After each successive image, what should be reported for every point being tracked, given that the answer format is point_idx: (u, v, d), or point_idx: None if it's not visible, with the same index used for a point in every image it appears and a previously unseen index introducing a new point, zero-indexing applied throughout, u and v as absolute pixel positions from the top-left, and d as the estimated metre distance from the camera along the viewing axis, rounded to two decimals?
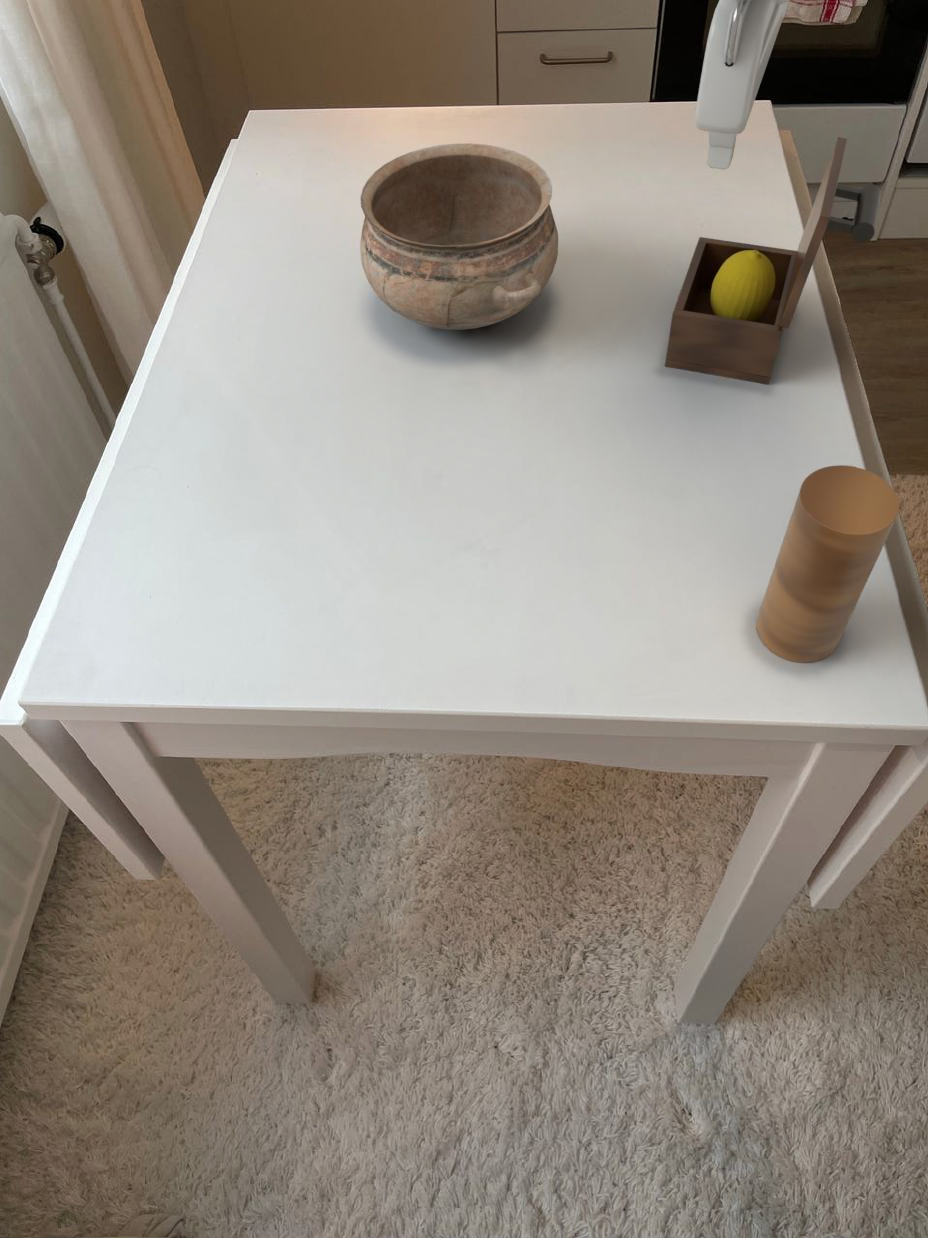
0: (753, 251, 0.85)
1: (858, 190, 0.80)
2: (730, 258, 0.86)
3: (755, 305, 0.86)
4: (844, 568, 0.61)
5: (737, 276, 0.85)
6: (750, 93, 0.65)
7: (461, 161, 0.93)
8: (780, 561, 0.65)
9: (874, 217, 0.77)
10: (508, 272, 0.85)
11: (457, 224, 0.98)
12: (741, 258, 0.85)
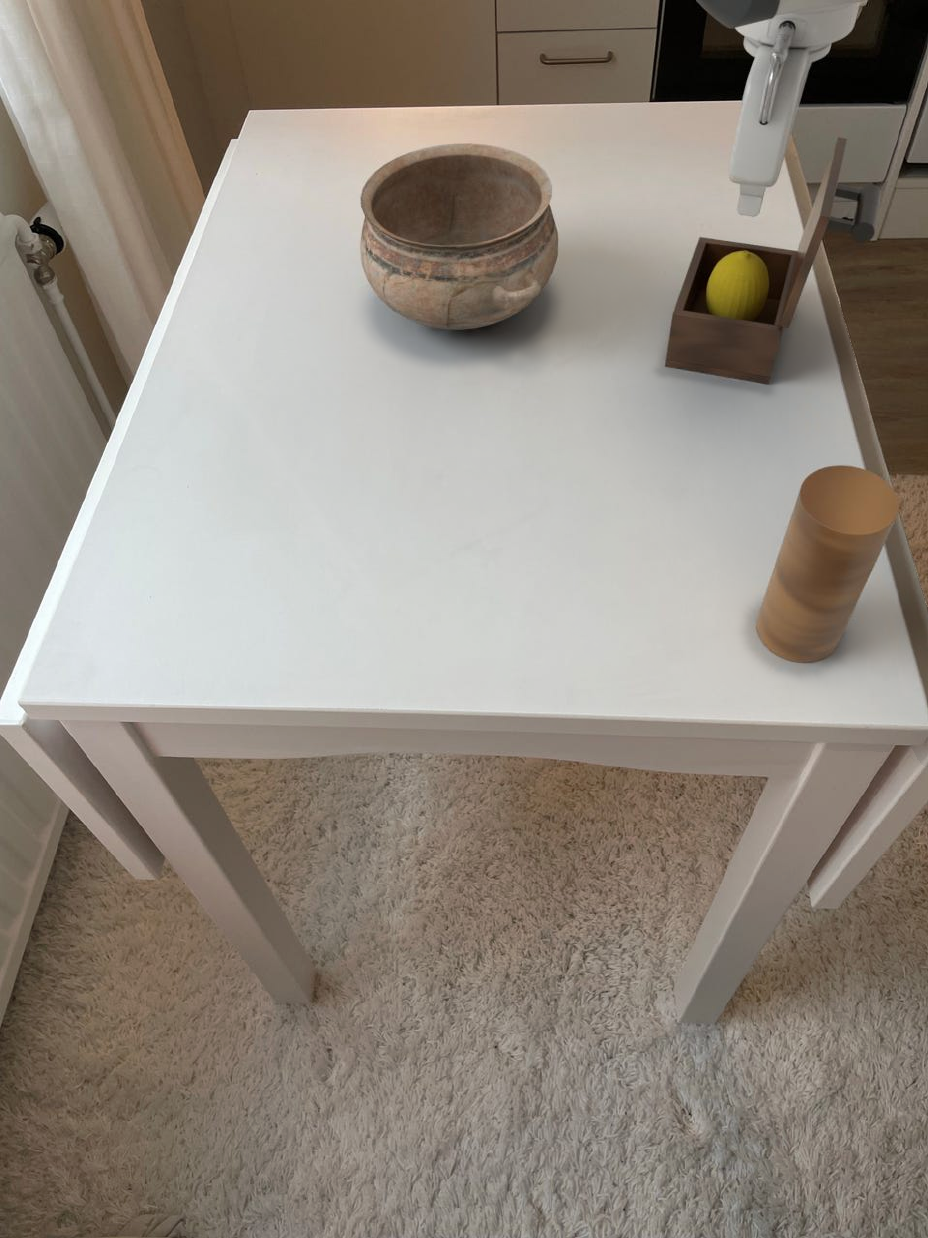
0: (742, 252, 0.85)
1: (858, 190, 0.80)
2: (721, 261, 0.86)
3: (749, 305, 0.86)
4: (844, 568, 0.61)
5: (728, 277, 0.85)
6: (783, 150, 0.68)
7: (461, 161, 0.93)
8: (780, 561, 0.65)
9: (874, 217, 0.77)
10: (508, 272, 0.85)
11: (457, 224, 0.98)
12: (731, 259, 0.85)
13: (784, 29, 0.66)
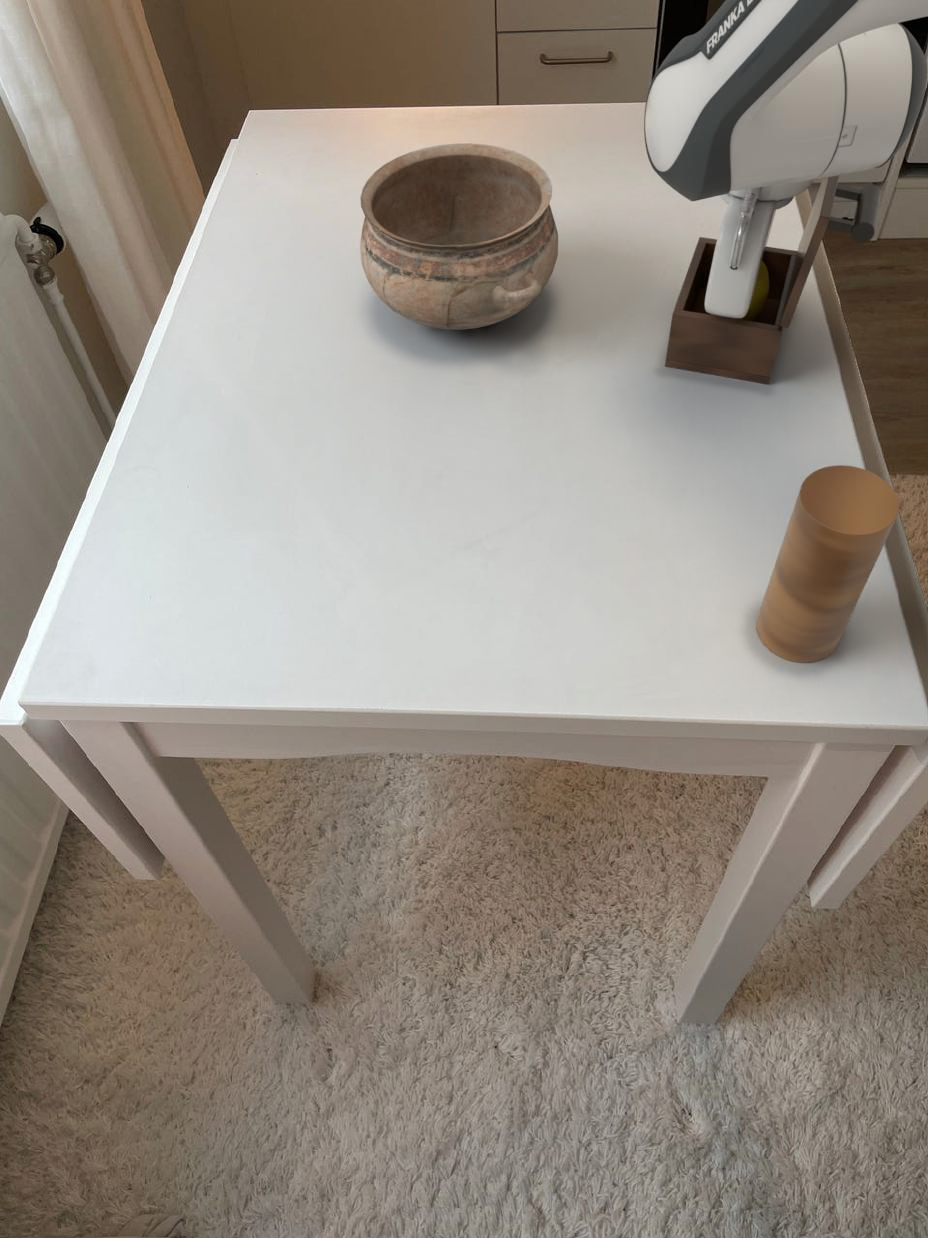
0: None
1: (858, 190, 0.80)
2: None
3: None
4: (844, 568, 0.61)
5: None
6: (751, 289, 0.77)
7: (461, 161, 0.93)
8: (780, 561, 0.65)
9: (874, 217, 0.77)
10: (508, 272, 0.85)
11: (457, 224, 0.98)
12: None
13: (751, 188, 0.75)
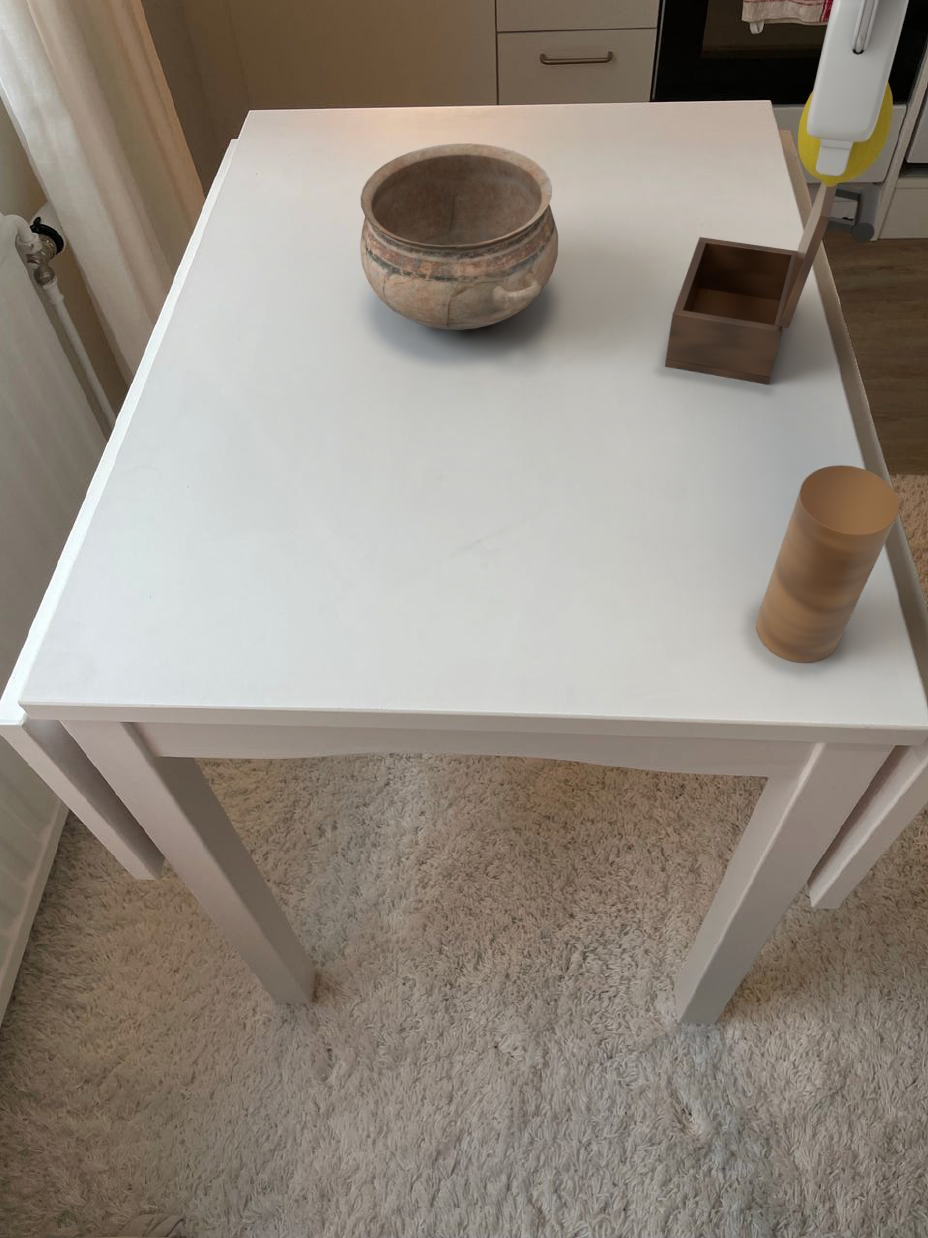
0: None
1: (858, 190, 0.80)
2: None
3: (864, 143, 0.59)
4: (844, 568, 0.61)
5: None
6: (884, 89, 0.50)
7: (461, 161, 0.93)
8: (780, 561, 0.65)
9: (874, 217, 0.77)
10: (508, 272, 0.85)
11: (457, 224, 0.98)
12: None
13: None
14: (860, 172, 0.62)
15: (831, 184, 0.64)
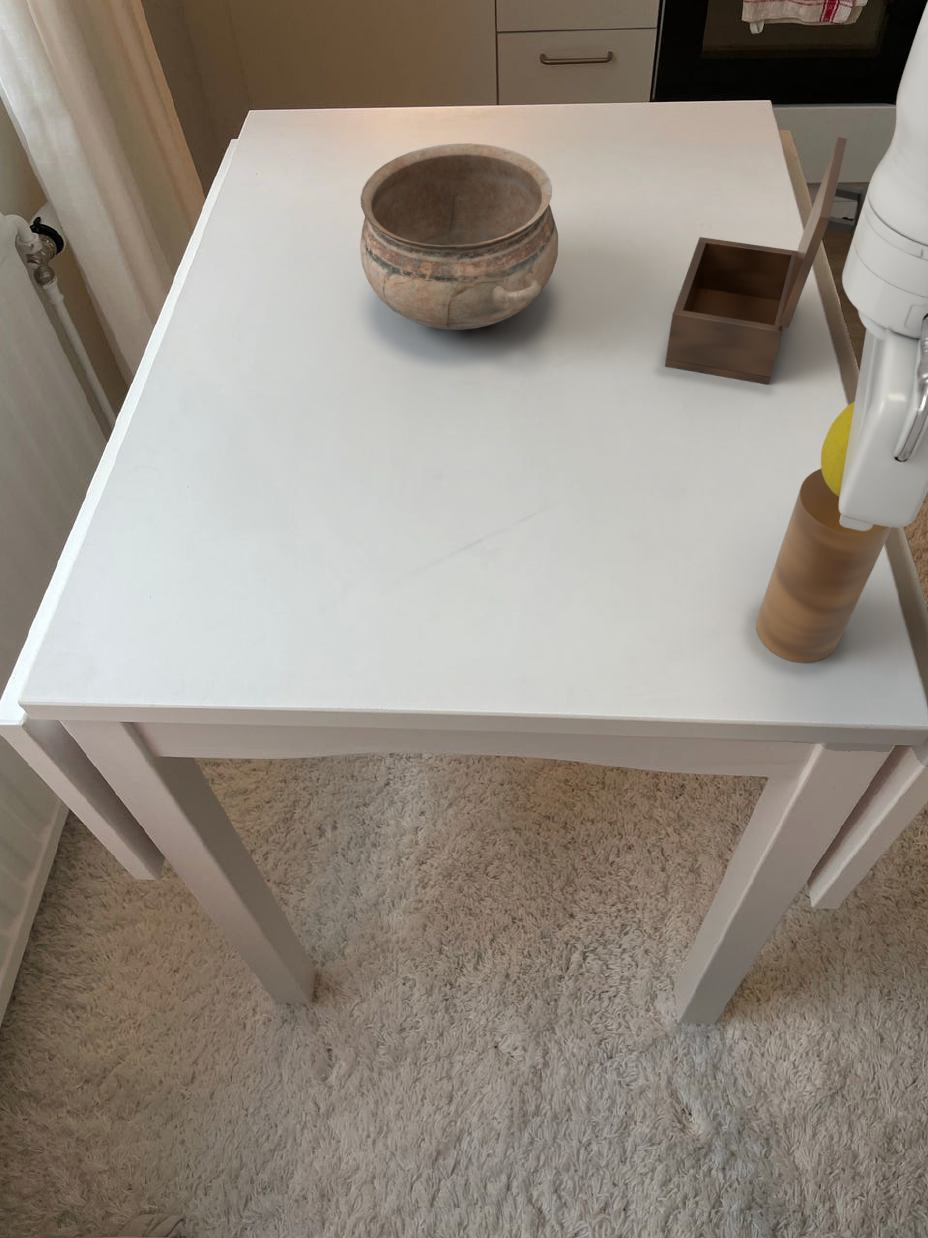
0: None
1: (858, 190, 0.80)
2: (851, 409, 0.55)
3: None
4: (844, 568, 0.61)
5: None
6: (927, 491, 0.46)
7: (461, 161, 0.93)
8: (780, 561, 0.65)
9: None
10: (508, 272, 0.85)
11: (457, 224, 0.98)
12: None
13: None
14: None
15: None
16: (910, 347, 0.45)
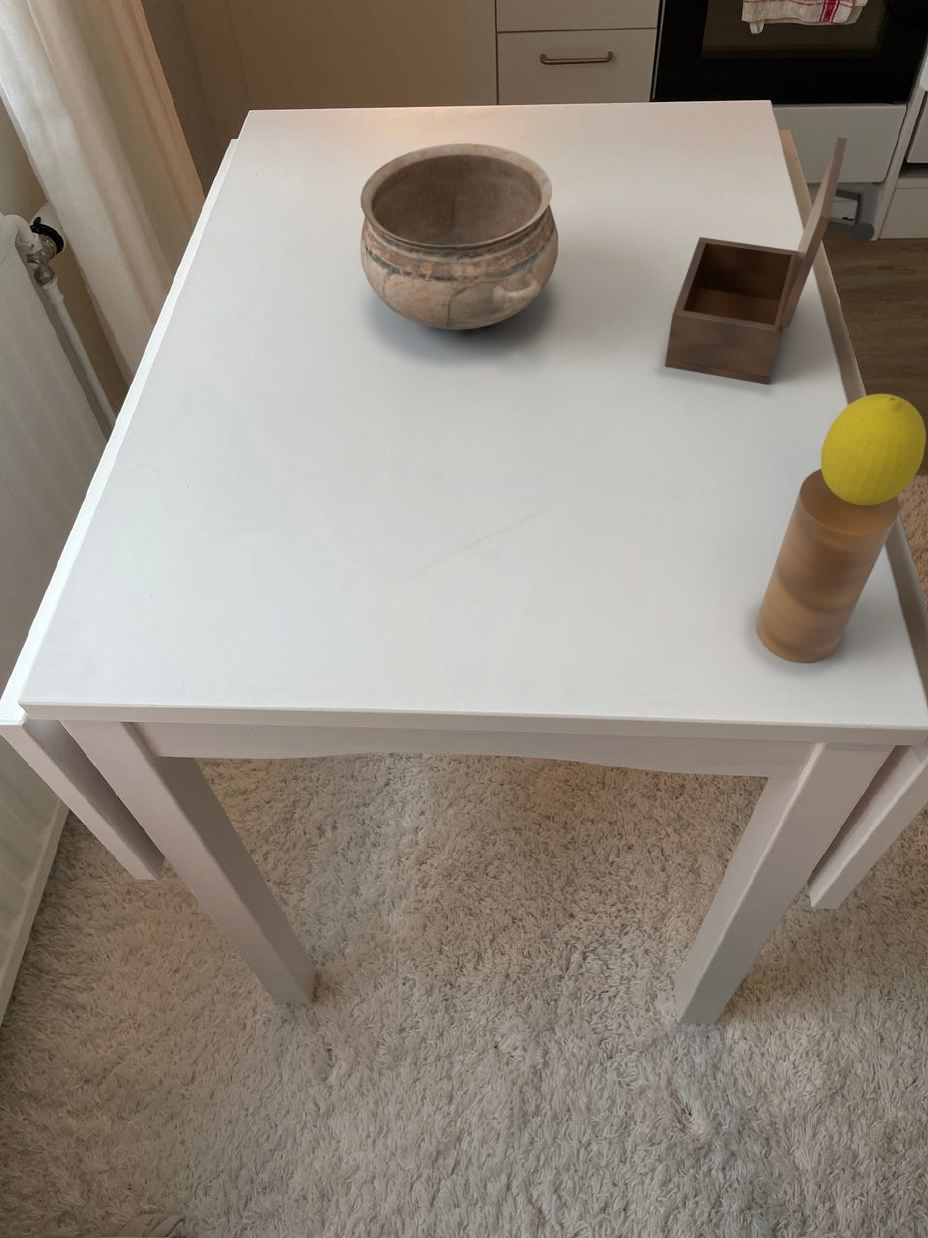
0: (888, 399, 0.53)
1: (858, 190, 0.80)
2: (851, 409, 0.55)
3: (895, 480, 0.55)
4: (844, 568, 0.61)
5: (864, 439, 0.54)
6: None
7: (461, 161, 0.93)
8: (780, 561, 0.65)
9: (874, 217, 0.77)
10: (508, 272, 0.85)
11: (457, 224, 0.98)
12: (869, 410, 0.54)
13: None
14: None
15: None
16: None
